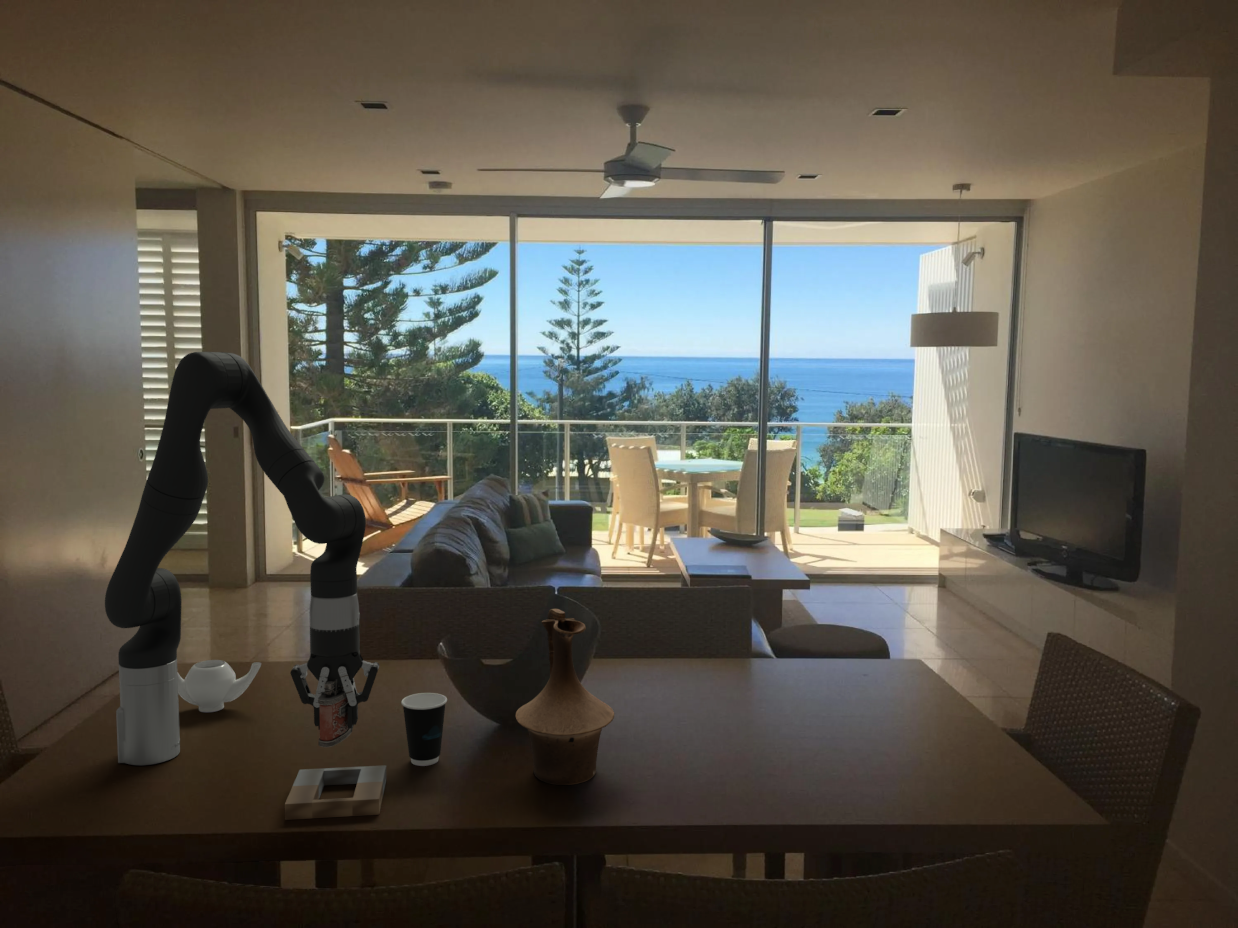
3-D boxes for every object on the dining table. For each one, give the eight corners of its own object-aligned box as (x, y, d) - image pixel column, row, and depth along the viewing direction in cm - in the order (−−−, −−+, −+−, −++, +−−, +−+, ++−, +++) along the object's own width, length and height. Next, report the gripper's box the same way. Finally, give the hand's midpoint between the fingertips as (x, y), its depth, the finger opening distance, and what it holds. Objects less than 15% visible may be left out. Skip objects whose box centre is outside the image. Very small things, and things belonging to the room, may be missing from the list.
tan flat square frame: (285, 819, 148) (284, 803, 148) (300, 783, 161) (299, 769, 160) (379, 814, 150) (378, 798, 150) (386, 779, 163) (386, 765, 163)
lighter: (333, 747, 150) (333, 685, 149) (313, 745, 151) (312, 683, 150) (357, 729, 158) (356, 669, 157) (337, 727, 159) (337, 668, 158)
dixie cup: (436, 771, 166) (436, 709, 165) (394, 766, 168) (393, 705, 167) (454, 753, 174) (454, 694, 173) (413, 749, 176) (413, 690, 175)
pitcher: (502, 760, 171) (502, 605, 169) (591, 746, 178) (592, 597, 176) (533, 800, 155) (533, 630, 153) (630, 783, 162) (632, 620, 159)
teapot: (168, 701, 200) (167, 657, 199) (268, 699, 202) (267, 655, 201) (150, 718, 190) (149, 672, 189) (255, 715, 192) (254, 670, 191)
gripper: (283, 629, 148) (285, 738, 149) (378, 626, 150) (380, 734, 152) (292, 617, 155) (294, 721, 157) (382, 614, 157) (384, 717, 159)
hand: (336, 726), depth 154 cm, fingers closed on lighter, 4 cm apart
